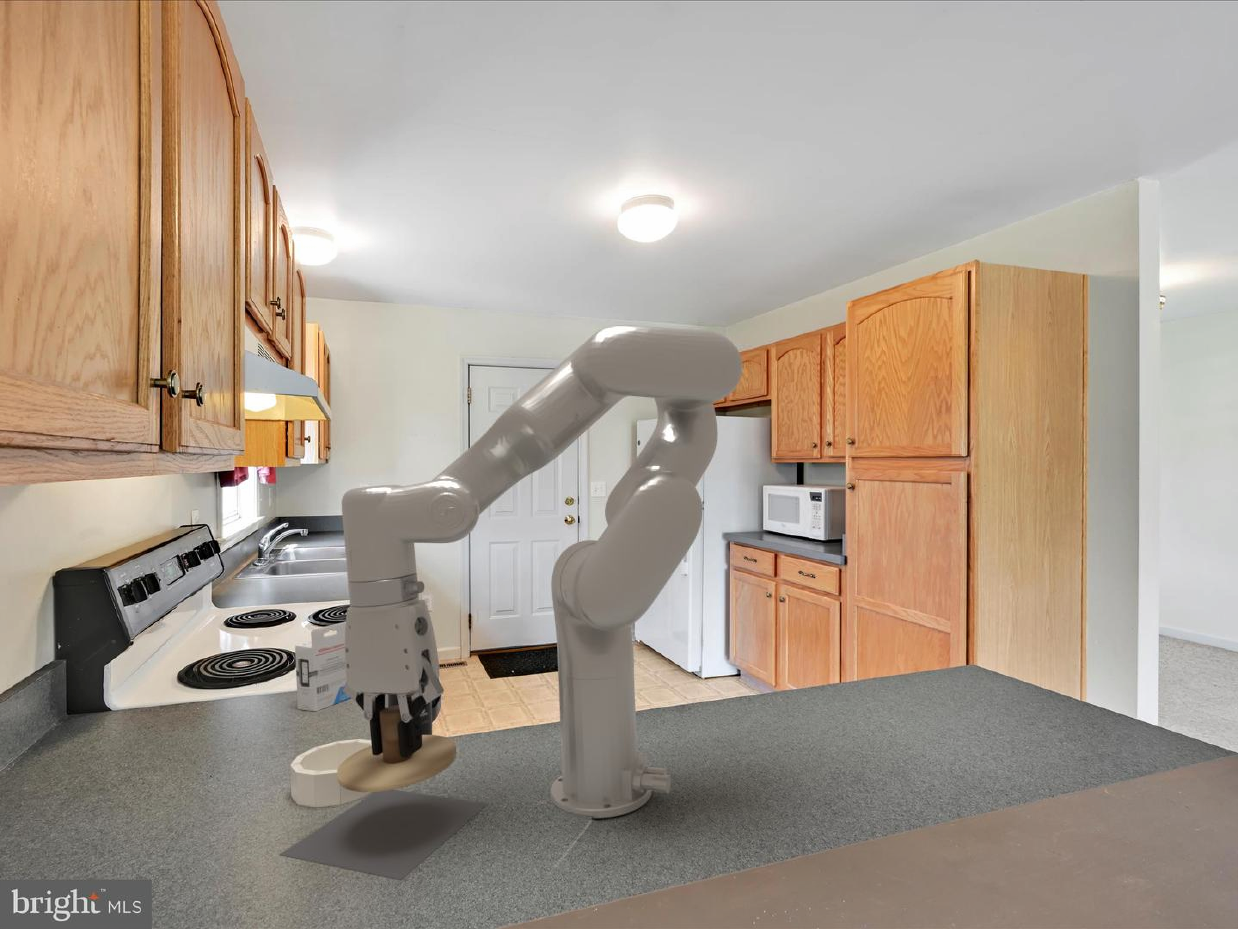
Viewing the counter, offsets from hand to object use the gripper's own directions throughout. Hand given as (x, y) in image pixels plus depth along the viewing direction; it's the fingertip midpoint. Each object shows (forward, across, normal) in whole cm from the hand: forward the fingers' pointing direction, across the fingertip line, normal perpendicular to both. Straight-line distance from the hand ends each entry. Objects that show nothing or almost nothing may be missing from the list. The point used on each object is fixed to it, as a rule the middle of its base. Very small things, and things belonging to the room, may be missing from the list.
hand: (397, 750), depth 77 cm
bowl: (+9, +15, -6) cm, 19 cm away
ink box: (+9, +45, -34) cm, 57 cm away
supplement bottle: (+9, +17, -23) cm, 30 cm away
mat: (+9, +1, +1) cm, 9 cm away
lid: (+2, 0, 0) cm, 2 cm away
